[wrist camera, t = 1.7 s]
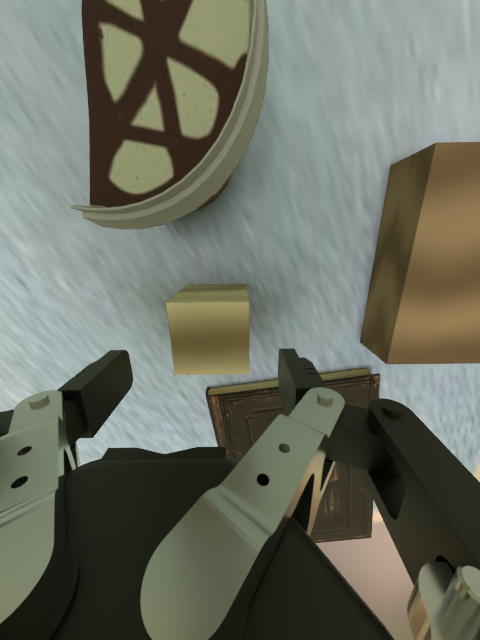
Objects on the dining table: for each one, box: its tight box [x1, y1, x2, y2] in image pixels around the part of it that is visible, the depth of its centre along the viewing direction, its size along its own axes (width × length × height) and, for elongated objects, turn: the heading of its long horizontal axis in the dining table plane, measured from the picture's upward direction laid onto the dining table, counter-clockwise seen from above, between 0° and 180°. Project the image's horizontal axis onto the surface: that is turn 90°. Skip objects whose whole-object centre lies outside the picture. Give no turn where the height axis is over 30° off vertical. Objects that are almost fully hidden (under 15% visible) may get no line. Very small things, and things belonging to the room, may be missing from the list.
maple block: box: [166, 284, 249, 375], centre depth 17 cm, size 5×5×6 cm
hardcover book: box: [206, 368, 380, 543], centre depth 25 cm, size 16×23×2 cm
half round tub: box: [71, 0, 268, 229], centre depth 12 cm, size 12×6×10 cm, turn 168°
